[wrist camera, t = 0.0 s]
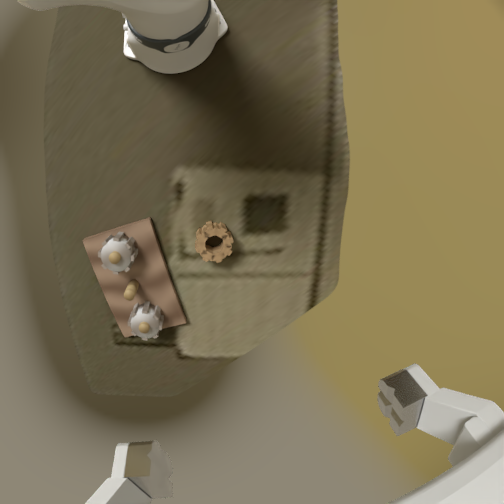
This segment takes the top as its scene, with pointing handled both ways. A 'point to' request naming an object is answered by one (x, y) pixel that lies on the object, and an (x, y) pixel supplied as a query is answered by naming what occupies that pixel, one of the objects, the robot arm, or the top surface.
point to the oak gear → (217, 251)
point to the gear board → (135, 279)
